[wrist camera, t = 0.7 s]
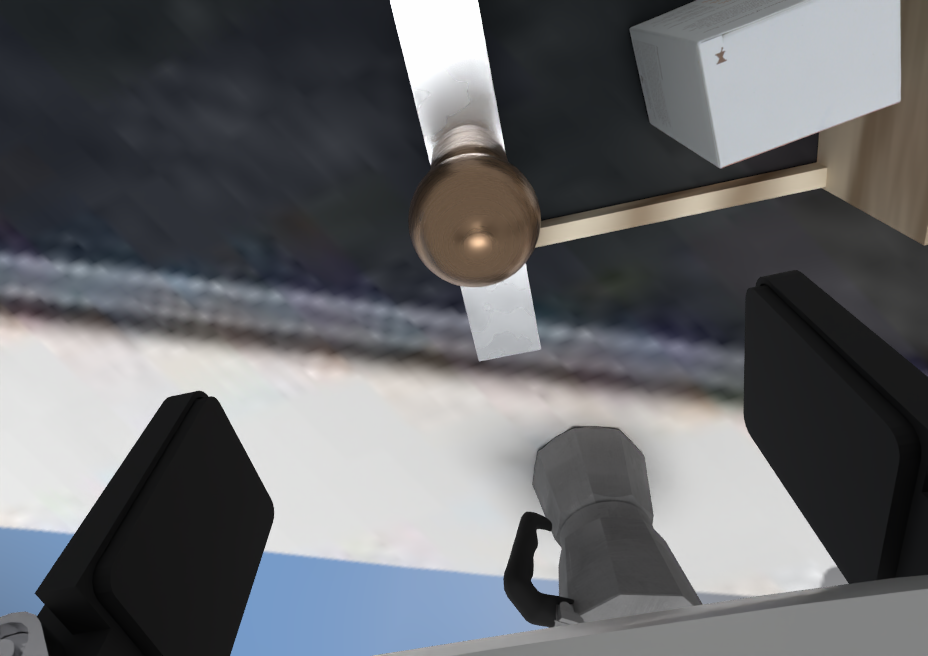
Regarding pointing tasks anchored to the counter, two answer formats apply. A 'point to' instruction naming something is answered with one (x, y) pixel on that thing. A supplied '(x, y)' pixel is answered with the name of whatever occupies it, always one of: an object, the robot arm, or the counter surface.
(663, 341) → the counter surface
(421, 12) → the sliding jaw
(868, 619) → the robot arm
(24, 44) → the counter surface
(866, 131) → the frame
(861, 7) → the small box
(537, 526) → the coffeepot
